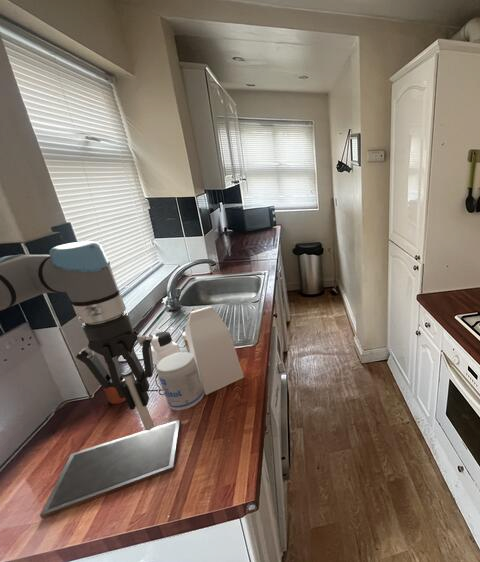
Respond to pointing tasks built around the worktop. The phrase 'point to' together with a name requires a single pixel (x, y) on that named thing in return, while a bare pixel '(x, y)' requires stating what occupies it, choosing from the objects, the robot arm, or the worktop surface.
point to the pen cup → (113, 395)
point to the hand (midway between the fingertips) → (140, 403)
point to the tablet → (114, 467)
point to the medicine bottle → (163, 346)
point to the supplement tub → (180, 380)
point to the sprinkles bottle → (186, 341)
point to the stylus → (137, 400)
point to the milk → (212, 349)
